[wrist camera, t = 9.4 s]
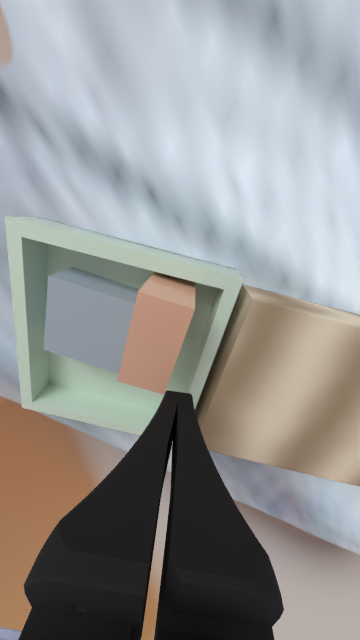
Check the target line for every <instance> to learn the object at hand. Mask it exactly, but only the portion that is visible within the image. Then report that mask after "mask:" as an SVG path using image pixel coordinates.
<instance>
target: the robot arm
mask: <svg viewBox="0 0 360 640" xmlns="http://www.w3.org/2000/svg"><path fill="white" fill-rule="evenodd" d="M172 441H173V445H172ZM171 446H172V471H171V493H170V505H169V515H168V523H167V532H166V541H165V549H164V558H163V567H162V577H161V585H160V593H159V602H158V611H157V620H156V628H155V637H154V640H274V636H273V630H272V626H273V625H274V624H275V623H276V622H277V620H279V618H280V617H281V615H282V613H283V610H284V608H283V604H282V598H281V593H280V590H279V586H278V583H277V580H276V576H275V573H274V570H273V567H272V565H271V562H270V559H269V556H268V555H267V553H266V551H265V550H264V549H263V547H262V545H261V544H260V543H259V541H258V540H257V538H256V537H255V535H254V533H253V532H252V530H251V529H250V527H249V526H248V524H247V523H246V521H245V520H244V518H243V516H242V514H241V513H240V512H239V510H238V508H237V506H236V505H235V503H234V501H233V499H232V497H231V496H230V494H229V492H228V490H227V488H226V487H225V485H224V483H223V481H222V479H221V477H220V475H219V473H218V471H217V469H216V467H215V465H214V462H213V460H212V458H211V456H210V453H209V451H208V449H207V446H206V443H205V441H204V438H203V435H202V433H201V430H200V426H199V423H198V420H197V417H196V413H195V409H194V404H193V397H192V395H191V394H190V393H183V392H176V391H169V390H167V391H166V392H165V394H164V397H163V399H162V401H161V403H160V405H159V407H158V409H157V411H156V413H155V414H154V416H153V418H152V419H151V421H150V423H149V424H148V426H147V427H146V429H145V430H144V432H143V433H142V434H141V436H140V437H139V439H138V440H137V441H136V443H135V444H134V445H133V447H132V448H131V449H130V450H129V452H128V453H127V454H126V455H125V457H124V458H123V459H122V460H121V461H120V462H119V464H118V465H117V466H116V467H115V468H114V469H113V471H111V473H109V475H108V476H107V477H106V478H105V479H104V480H103V481H102V482H101V483H100V484H99V485H98V486H97V487H96V488H95V489H94V490H93V491H92V492H91V493H90V494H89V495H88V496H87V497H85V498H84V499H83V500H82V501H81V502H80V503H79V504H78V505H77V506H76V507H74V508H73V509H72V510H71V511H70V512H69V513H68V514H67V515H66V516H64V517H63V518H62V519H61V520H60V521H59V523H58V524H57V526H56V527H55V528H54V530H53V531H52V533H51V534H50V536H49V537H48V539H47V541H46V542H45V544H44V546H43V548H42V549H41V551H40V553H39V555H38V556H37V558H36V561H35V563H34V565H33V567H32V569H31V571H30V573H29V575H28V577H27V579H26V582H25V584H24V590H25V594H26V596H27V598H28V600H29V602H30V604H31V606H32V609H31V612H30V614H29V616H28V619H27V621H26V623H25V625H24V628H23V630H22V631H18V630H13V629H7V628H2V627H0V640H140V639H141V636H142V629H143V622H144V614H145V607H146V600H147V592H148V585H149V578H150V571H151V562H152V556H153V549H154V542H155V535H156V528H157V520H158V513H159V506H160V498H161V493H162V488H163V483H164V478H165V474H166V469H167V464H168V460H169V455H170V450H171Z"/></svg>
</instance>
